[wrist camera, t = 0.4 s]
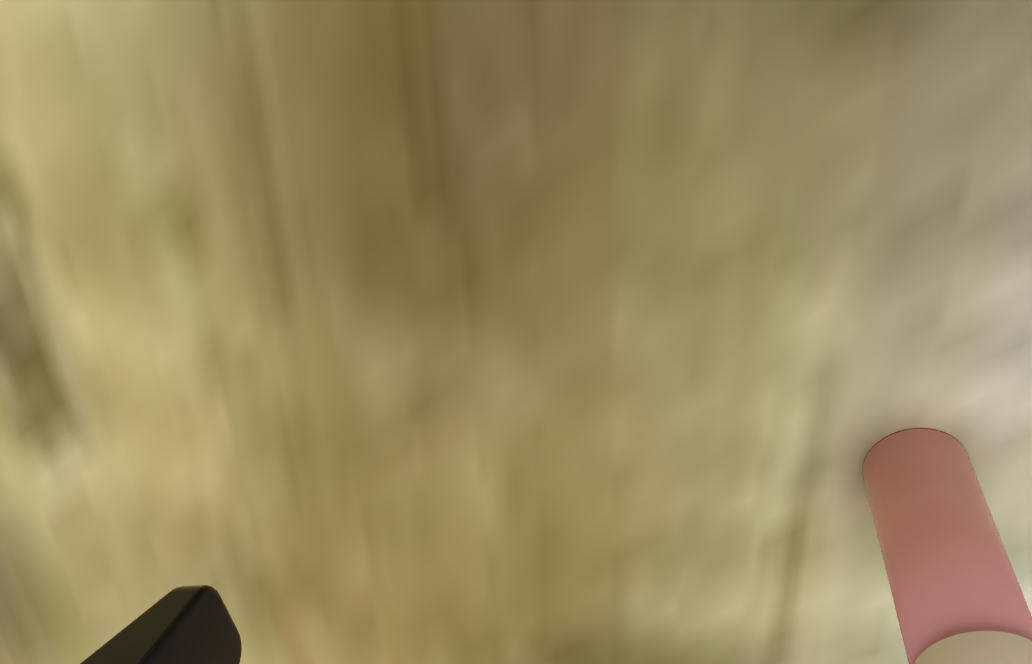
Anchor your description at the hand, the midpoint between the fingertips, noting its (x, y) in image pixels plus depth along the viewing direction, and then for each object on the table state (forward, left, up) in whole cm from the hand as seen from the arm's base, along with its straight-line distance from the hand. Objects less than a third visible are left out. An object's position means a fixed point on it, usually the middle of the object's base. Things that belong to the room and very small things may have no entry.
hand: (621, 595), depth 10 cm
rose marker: (-10, -6, -13) cm, 18 cm away
